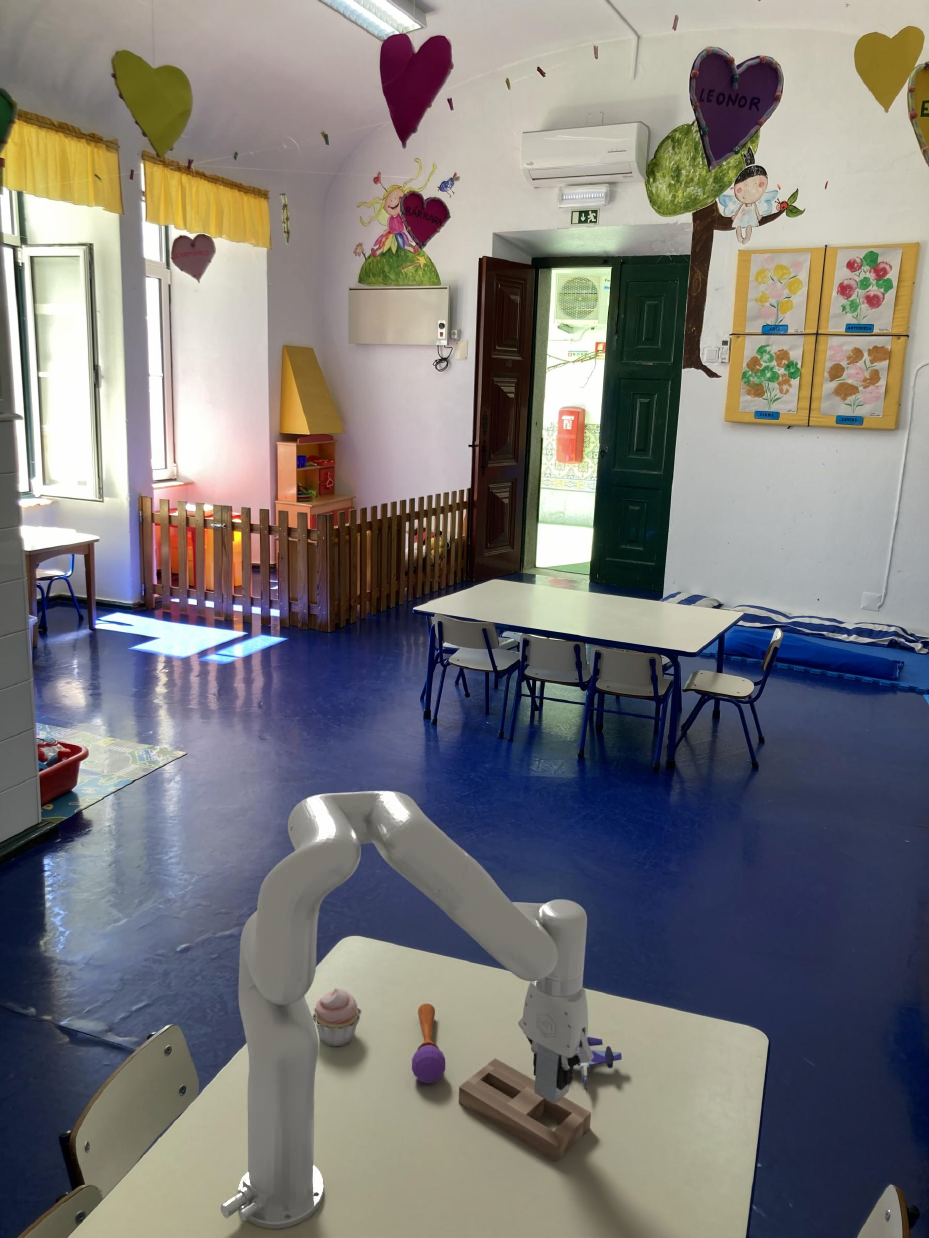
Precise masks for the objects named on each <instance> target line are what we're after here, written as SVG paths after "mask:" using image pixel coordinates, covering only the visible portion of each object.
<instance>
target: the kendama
mask: <svg viewBox="0 0 929 1238" xmlns="http://www.w3.org/2000/svg"><path fill="white" fill-rule="evenodd" d="M417 1015H418V1019H419V1024H420V1027H421V1032H422V1036H423V1042H422V1043H420V1045H419V1046H418V1047H417V1049H416V1051H415V1053H414V1054H413V1056H412V1058H411V1071H412V1073H413V1075H414V1077H416V1078H417V1080H419V1082H421V1083H425V1084H432V1083H435V1082H437V1081H438V1080H439V1079H440V1078H442V1077H443V1075H444V1073H445V1071H446V1057H445V1055H444V1053H443V1052H442V1051H441V1050H440V1048H439V1046H437V1044H436V1043H434V1042H433V1041H432V1035H433V1030H434V1021H435V1015H436V1009H435V1007H434V1006H433V1004H430V1003H423V1004H421V1005H420V1006H419V1007H418V1009H417Z"/></svg>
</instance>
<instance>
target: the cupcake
mask: <svg viewBox="0 0 929 1238" xmlns="http://www.w3.org/2000/svg"><path fill="white" fill-rule="evenodd" d="M312 1010H313V1014H311V1015H312V1018H313V1021H314V1024H315V1027H316V1030H317V1034H318V1035H319V1036H318V1037H319V1040H320V1041H321V1042H322V1043H323V1044H324V1045H327V1046H330V1047H342V1046H345V1045H347V1044H349V1043H351V1041H352V1039H353V1038H354V1036H355V1034H356V1029H357V1026H358V1024H359V1022H360V1020H361V1014H362V1012H363V1010H362V1009H361V1008H359V1004H358V1003H357V1001H356V999H355V997H354V996H353V995H352V994H351V993H350V992H348V991H346V990H343V989H341V988H336V987H335V988H334V989H332V990H330V991H328V992H327V993H325V994H324V995H323V996H322V997H321V998H319V999H318V1000H317V1002H316V1004H315V1006H314V1007H313V1009H312Z"/></svg>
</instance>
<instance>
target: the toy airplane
mask: <svg viewBox="0 0 929 1238" xmlns="http://www.w3.org/2000/svg"><path fill="white" fill-rule="evenodd" d="M587 1041H588V1044H589V1046H590V1047H595V1046H596V1047H597V1046H603V1039H601V1038H598V1037H597V1038H596V1037H592V1036H587ZM591 1051H592V1053H593V1056H594V1058H593V1059H592V1060H591V1061H590V1062H587V1063H579V1064H577V1065H576V1066H580V1068H579V1070H580V1074H581V1086H582V1087H583V1089H585V1092H586V1096H587V1091H588V1090H587V1086H588V1078H589V1074H590V1072H591V1071H590V1070H591V1069H590V1066H593V1065H594V1066H595V1065H599V1064H605V1063H606V1066H607V1068H608V1069H613V1066H614V1062H615V1061H616V1062H617V1061H621V1060H622V1057H623V1056H622V1052H619V1051H613V1050H612V1047H611V1046H609V1045H608V1046H606V1048H605V1050H601V1049H600V1050H597V1049H591ZM578 1052H580V1050H579V1048H578V1051H577V1053H578Z"/></svg>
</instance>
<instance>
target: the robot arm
mask: <svg viewBox="0 0 929 1238" xmlns="http://www.w3.org/2000/svg"><path fill="white" fill-rule="evenodd" d="M287 831H288V835H289V838H290V839H289V840H290V842H291V844H292V846H293V848H294V851H293V852H291V853H290V854H288V855H287V856H286V857H284V858H283V859H281V861H280V862H279V863H277V864H276V865H275V866H274V867H273V868H272V869H271V871H269V873H268V874H267V875H266V877H264V880H263V882H262V883H261V885H260V889H259V893H258V898H257V906H256V907H257V908H256V911H255V912H253V913H252V915H251V916H250V917H249V918H248V919H247V921H246V922H245V924H244V926H243V929H242V932H241V936H240V944H239V961H238V963H239V969H238V1006H239V1012H240V1013H239V1014H240V1017H241V1022H242V1027H243V1031H244V1035H245V1040H246V1046H247V1052H248V1053H247V1054H248V1078H247V1094H246V1095H247V1172H246V1173H245V1175H244V1176H243V1177H242V1178H241V1180H240V1183H239V1185H238V1188H237V1193H236V1195H234V1196H233V1197H230V1198H229V1199H227V1200H225V1202H223V1203H222V1204H221V1205H220V1211H221V1214H222V1216H223V1217H224V1218H225V1219H228V1218H229V1217H231V1216H232V1215H234V1214H235V1213H236V1212H237V1211H239V1217H240V1220H242V1221H244V1222H245V1221H249V1222H251V1224H253V1225H255V1226H258V1227H262V1228H266V1229H283V1228H290V1227H292V1226H295V1225H298V1224H300V1223H302V1222H303V1221H305V1220H307V1219H308V1218H309V1217H311V1216H312V1215H313V1214H314V1213H315V1212H316V1210H317V1209H318V1208H319V1207H320V1205H321V1203H322V1200H323V1198H324V1190H325V1188H324V1187H325V1185H324V1179H323V1176H322V1173H321V1172H320V1170H319V1169H318V1167H316V1166H315V1165H314V1162H315V1161H314V1159H315V1158H314V1157H315V1155H314V1153H315V1152H314V1151H315V1148H314V1145H315V1143H314V1142H315V1081H316V1080H315V1079H316V1078H315V1077H316V1069H317V1063H318V1057H319V1038H318V1037H319V1036H318V1031H317V1027H316V1023H315V1022H314V1020H313V1018H312V1015H313V1014H312V1013H311V1010H310V1007H309V1005H308V1002H307V1001H306V997H305V996H306V995H307V993H308V992H309V990H310V988H312V985H313V982H314V979H315V977H316V976H315V974H316V971H317V943H318V940H317V939H318V936H317V935H318V922H319V914H320V907H321V904H322V902H323V900H325V898H326V897H327V895H329V894H330V893H331V892H333V890H335V889H336V888H337V887H339V886H341V885H343V883H345V882H346V881H347V880H348V879H349V878H351V876H352V875H353V874H354V873H355V872H356V870H357V868H358V866H359V863H360V861H361V854H362V848H361V847H362V846H361V845H367V844H374V846H375V848H376V850H377V851H378V853H379V855H380V856H381V858H382V859H384V861H385V862H386V863H387V864H388V865H389V866H390V867H391V868H392V869H394V870H395V872H397V873H399V875H401V876H402V877H403V878H405V879H406V880H407V881H408V882H409V883H411V885H413V887H415V888H417V890H419V891H420V892H421V893H423V894H424V895H425V896H426V897H427V898H429V900H431V901H432V902H433V903H435V905H436V906H438V907H439V909H441V910H442V911H444V913H445V914H446V915H447V916H448V917H449V918H450V919H451V920H452V921H453V922H454V923H456V924H457V925H458V926H459V927H460V928H461V929H462V930H464V932H466V933H467V934H468V935H469V936H470V937H471V938H472V939H473V940H474V941H476V943H478V945H479V946H480V947H481V948H483V949H484V950H485V951H486V952H487V953H488V955H490V956H491V957H492V958H493V959H495V960H496V961H497V962H498V963H500V964H501V965H502V966H503V967H504V968H505V969H506V970H508V971H509V972H511V973H512V975H515V977H516V978H518V979H521V980H523V981H526V982H529V984H528V987H527V990H526V995H525V998H524V999H525V1000H524V1005H523V1013H522V1018H520V1020H519V1021H518V1022H517V1024H518V1027H519V1028H520V1029H521V1031H522V1033H523V1035H525V1037H526V1038H527V1040H528V1043H529V1044H530V1050H531V1052H532V1053H533V1076H534V1077H535V1076H536V1060H537V1044H538V1043H539V1044H541V1045H542V1046H544V1047H546V1048H548V1049H550V1050H552V1051H554V1052H556V1053H558V1054H559V1055H561V1061H562V1066H561V1067H560V1068H559V1074H558V1089H559V1090H562V1089H563V1088H565V1087H566V1086H567V1085H569V1086H570V1085H571V1084H572V1082H573V1079H574V1068H575V1066H578V1065H577V1064H579V1063H587V1062H590V1061H591V1060H592V1059H593V1058H594V1056H593V1053H592V1051H591V1050H592V1048H591V1046H589V1044H588V1041H587V1037H589V1036H588V1033H589V1010H588V1001H587V993H586V989H585V988H584V987H583V984H584V983H583V981H584V971H585V970H584V968H585V958H586V957H585V955H586V942H587V940H586V939H587V930H588V928H587V927H588V916H587V912H586V911H585V909H584V907H582V906H581V905H580V904H578V903H577V902H575V901H573V900H569V899H559V898H558V899H552V900H550V901H548V902H545V903H540V902H539V903H537V902H536V903H535V902H522V901H521V902H519V901H516V902H515V901H511V900H510V899H509V897H508V896H507V895H506V894H505V893H504V892H503V891H502V889H501V888H500V887H499V886H498V885H497V883H496V881H495V880H494V879H493V878H492V877H491V875H490V874H489V873H488V872H487V871H486V870H485V868H484V867H483V866H482V865H481V864H480V863H479V862H478V861H477V860H476V859H475V858H473V856H471V855H470V854H468V853H467V852H466V851H465V850H464V849H463V848H462V847H460V846H459V845H458V844H457V843H456V842H454V840H452V838H450V837H449V836H448V835H447V834H446V833H445V832H444V831H443V830H442V829H440V828H439V827H438V826H437V825H436V824H435V823H434V822H433V821H432V820H431V819H430V818H429V817H427V816H426V814H424V812H423V811H422V809H420V807H419V806H418V804H417V803H416V802H415V801H414V799H413V798H412V797H410V796H409V795H408V794H405V793H402V792H399V791H393V790H371V791H370V790H369V791H368V790H367V791H351V792H337V793H335V792H334V793H333V792H332V793H321V794H315V795H311V796H309V797H307V798H304V799H303V800H301V801H300V802H299V803H297V804H296V805H295V806H294V807H293V809H292V811H291V812H290V814H289V817H288V821H287ZM578 1049H579V1050H580V1052H578V1053H577V1051H578Z"/></svg>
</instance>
